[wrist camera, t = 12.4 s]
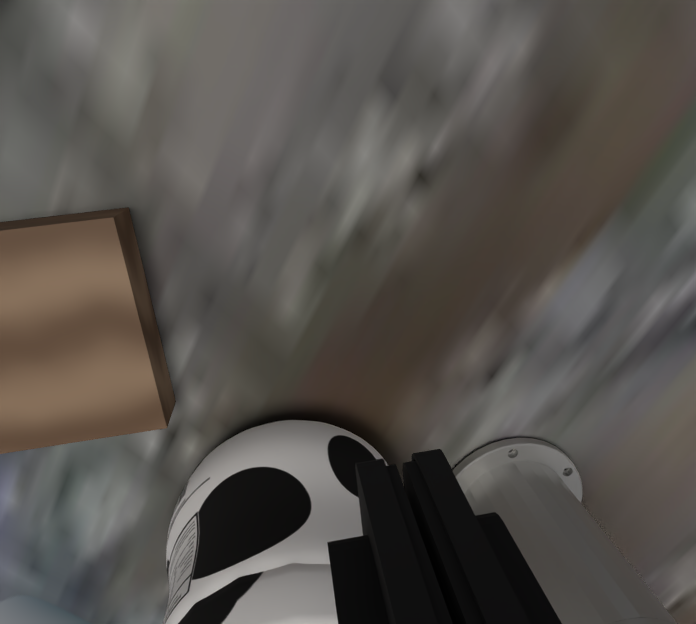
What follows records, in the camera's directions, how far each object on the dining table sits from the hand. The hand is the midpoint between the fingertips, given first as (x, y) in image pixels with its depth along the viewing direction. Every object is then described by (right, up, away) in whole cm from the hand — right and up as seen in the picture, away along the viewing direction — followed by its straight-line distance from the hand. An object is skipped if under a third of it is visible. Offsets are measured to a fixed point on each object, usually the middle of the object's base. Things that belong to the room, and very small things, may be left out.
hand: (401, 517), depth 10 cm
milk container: (-6, -11, +33) cm, 35 cm away
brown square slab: (-21, +3, +25) cm, 33 cm away
